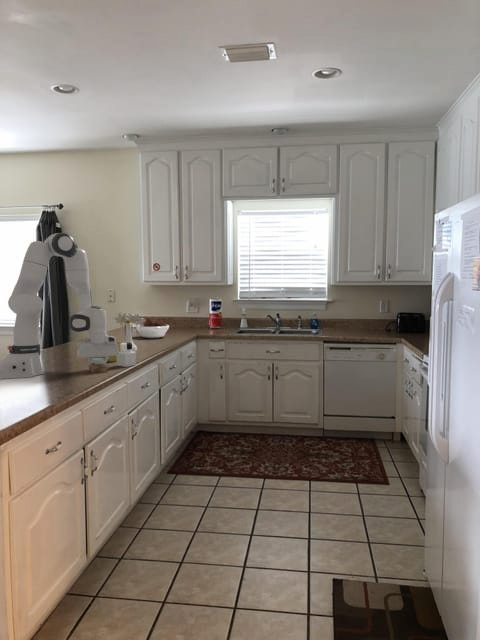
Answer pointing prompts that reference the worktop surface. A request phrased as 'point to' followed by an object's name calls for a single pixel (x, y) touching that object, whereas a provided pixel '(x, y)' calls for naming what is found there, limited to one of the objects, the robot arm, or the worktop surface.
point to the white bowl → (153, 328)
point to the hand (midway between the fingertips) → (98, 365)
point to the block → (97, 368)
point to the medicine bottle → (126, 355)
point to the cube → (98, 361)
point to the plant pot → (114, 358)
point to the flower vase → (130, 326)
